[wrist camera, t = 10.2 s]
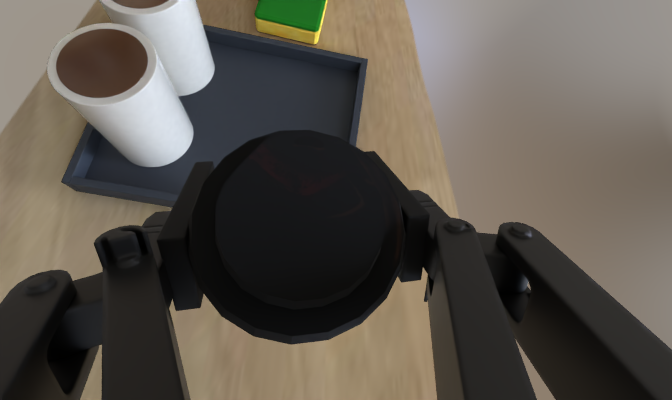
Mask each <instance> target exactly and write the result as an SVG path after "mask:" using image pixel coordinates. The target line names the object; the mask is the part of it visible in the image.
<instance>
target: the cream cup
mask: <svg viewBox="0 0 672 400" xmlns="http://www.w3.org/2000/svg"><path fill="white" fill-rule="evenodd" d="M47 74H48V78H49V81H50V83H51V85H52V86H53V87H54V89H55V90H56V91H57V92H58V93H59V94H60V95H61V96H62V97H63V98H64V99H65V100H66V101H67V102H68V103H69V104H70V105H71V106H72V107H73V108H74V109H75V110H76V111H77V112H78V113H79V114H80V115H81V116H83V117H84V118H85V119H86V120H87V121H88V122H89V123H90V124H91V125H92V126H93V127H94V128H95V129H96V130H97V131H98V132H99V133H100V134H101V135H102V136H103V137H104V138H105V139H106V140H107V141H108V142H109V143H110V144H111V145H112V146H113V147H114V148H115V149H116V150H117V151H118V152H119V153H120V154H121V155H123V156H124V157H125V158H126V159H127V160H128V161H130V162H132V163H133V164H136V165H139V166H143V167H160V166H164V165H167V164H170V163H172V162H174V161H176V160H177V159H179V158H180V157H181V156H182V155H183V154H184V153H185V152H186V151H187V150H188V148H189V146H190V145H191V142H192V139H193V125H192V122H191V120H190V118H189V116H188V114H187V112H186V110H185V108H184V106H183V104H182V102H181V100H180V98H179V96H178V94H177V92H176V90H175V88H174V86H173V84H172V82H171V80H170V78H169V76H168V74H167V72H166V70H165V68H164V66H163V64H162V62H161V60H160V58H159V56H158V54H157V52H156V50H155V48H154V46H153V44H152V43H151V41H150V40H149V39H148V38H147V37H146V36H145V35H144V34H142V33H141V32H139V31H137V30H136V29H134V28H131V27H129V26H125V25H122V24H115V23H99V24H92V25H88V26H85V27H82V28H79V29H77V30H75V31H73V32H71V33H69V34H68V35H66V36H65V37H64V38H62V39H61V40H60V41H59V42H58V43H57V44H56V46H55V47H54V48H53V50H52V51H51V53H50V56H49V58H48V62H47Z"/></svg>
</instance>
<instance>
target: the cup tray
mask: <svg viewBox="0 0 672 400" xmlns="http://www.w3.org/2000/svg"><path fill="white" fill-rule="evenodd" d="M203 26H204V29H205V33H206V36H207V39H208V43H209V46H210V50H211V53H212V56H213V60H214V64H215V70H214V74H213V77H212V79H211V80H210V82H209V83H208V84H207V85H206V86H205V87H204V88H202V89H201V90H199V91H198V92H195V93H193V94H189V95H185V96H179V98H180V100H181V102H182V104H183V106H184V108H185V110H186V112H187V114H188V116H189V118H190V120H191V122H192V125H193V139H192V142H191V145H190V146H189V148H188V150H187V151H186V152H185V153H184V154H183V155H182V156H181V157H180V158H179V159H177V160H176V161H174V162H172V163H170V164H167V165H164V166H160V167H143V166H139V165H136V164H133V163H132V162H130V161H128V160H127V159H126V158H125V157H124V156H123V155H121V154H120V153H119V152H118V151H117V150H116V149H115V148H114V147H113V146H112V145H111V144H110V143H109V142H108V141H107V140H106V139H105V138H104V137H103V136H102V135H101V134H100V133H99V132H98V131H97V130H96V129H95V128H94V127H93V126H92V125H91V124H90V123H89V122H88V123H87V125H86V127H85V130H84V132H83V134H82V136H81V139H80V141H79V143H78V145H77V148H76V150H75V152H74V154H73V156H72V159H71V161H70V163H69V165H68V168H67V170H66V172H65V174H64V177H63V179H62V181H61V182H62V183H64V184H66V185H67V186H69V187H71V188H72V189H74V190H75V191H80V192H86V193H91V194H97V195H103V196H109V197H115V198H121V199H126V200H132V201H138V202H144V203H150V204H156V205H161V206H167V207H173V206H174V204H175V202H176V200H177V198H178V196H179V194H180V192H181V190H182V188H183V186H184V184H185V182H186V180H187V178H188V176H189V174H190V172H191V170H192V168H193V166H194V164H195V162H204V161H213V164H214V169H215V168H216V166H217V165H218V164H219V163H220V161H221V160H222V159H223V158H224V157H225V156H227V155H228V154H230V153H231V152H233V151H234V150H236V149H237V148H238V147H240V146H241V145H243V144H244V143H246V142H247V141H249V140H251V139H254V138H257V137H261V136H264V135H267V134H270V133H273V132H276V131H283V130H312V131H316V132H320V133H324V134H328V135H332V136H336V137H339V138H341V139H343V140H345V141H346V142H348V143H350V144H351V145H353V146H355V147H356V141H357V133H358V126H359V119H360V112H361V105H362V98H363V90H364V83H365V76H366V69H367V62H368V59H364V58H359V57H354V56H350V55H345V54H340V53H335V52H331V51H326V50H321V49H317V48H312V47H307V46H302V45H298V44H293V43H288V42H283V41H279V40H274V39H269V38H264V37H260V36H255V35H250V34H245V33H241V32H236V31H231V30H226V29H222V28H217V27H212V26H208V25H203Z"/></svg>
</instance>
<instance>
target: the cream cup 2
mask: <svg viewBox="0 0 672 400" xmlns="http://www.w3.org/2000/svg"><path fill="white" fill-rule="evenodd" d="M99 1H100V3H101V5H102V6H103V8H104V10H105V11H106V13H107V15H108V16H109V18H110V20H111V21H112V23H115V24H122V25H125V26H129V27H131V28H134V29H136V30H137V31H139V32H141V33H142V34H144V35H145V36H146V37H147V38H148V39H149V40H150V41H151V43H152V44H153V46H154V48H155V50H156V52H157V54H158V56H159V58H160V60H161V62H162V64H163V66H164V68H165V70H166V72H167V74H168V76H169V78H170V80H171V82H172V84H173V86H174V88H175V90H176V92H177V94H178V96H185V95H189V94H193V93H195V92H198V91H199V90H201V89H202V88H204V87H205V86H206V85H207V84H208V83H209V82H210V80H211V79H212V77H213V74H214V70H215V64H214V60H213V56H212V53H211V50H210V46H209V43H208V39H207V36H206V33H205V29H204V26H203V22H202V19H201V15H200V12H199V9H198V5H197V2H196V0H99Z"/></svg>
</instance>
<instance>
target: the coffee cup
mask: <svg viewBox="0 0 672 400" xmlns="http://www.w3.org/2000/svg"><path fill="white" fill-rule="evenodd" d="M405 239H406V234H405V228H404V222H403V216H402V210H401V205H400V202H399V200H398V198H397V196H396V194H395V192H394V190H393V188H392V186H391V184H390V182H389V180H388V178H387V176H386V174H385V173H384V172H383V171H382V170H381V169H380V168H379V167H378V166H377V165H376V163H375V162H374V161H373V160H372V159H371V158H370V157H369V156H368V155H367V154H366V153H365V152H363V151H362V150H360V149H358V148H357V147H355V146H353V145H351V144H350V143H348V142H346V141H345V140H343V139H341V138H339V137H336V136H332V135H328V134H324V133H320V132H316V131H312V130H283V131H276V132H273V133H270V134H267V135H264V136H261V137H257V138H254V139H251V140H249V141H247V142H246V143H244V144H243V145H241V146H240V147H238V148H237V149H236V150H234V151H233V152H231V153H230V154H228V155H227V156H225V157H224V158H223V159H222V160H221V161H220V163H219V164H218V165H217V166H216V168H215V169H214V170H213V171H212V173H211V174H210V175H209V176H208V178H207V179H206V180H205V181H204V183H203V184H202V185H201V187H200V190H199V192H198V195H197V198H196V200H195V203H194V206H193V208H192V211H191V214H190V216H189V238H188V254H189V258H190V261H191V264H192V267H193V270H194V274H195V277H196V280H197V283H198V286H199V288H200V289H201V290H202V292H203V293H204V294H205V296H206V297H207V298H208V299H209V301H210V302H211V303H212V304H213V306H214V307H215V308H216V310H217V311H218V312H219V313H220V315H221V316H222V317H224V318H225V319H227V320H229V321H230V322H232V323H233V324H235V325H236V326H238V327H240V328H241V329H243V330H244V331H246V332H248V333H249V334H251V335H252V336H255V337H259V338H264V339H268V340H273V341H277V342H282V343H287V344H298V343H307V342H315V341H323V340H329V339H331V338H333V337H335V336H337V335H339V334H341V333H343V332H345V331H347V330H349V329H351V328H353V327H355V326H358V325H360V324H361V323H362V322H363V321H364V320H365V319H366V318H367V317H368V316H369V315H370V314H371V313H372V312H373V311H374V310H375V309H376V308H377V307H378V306H379V305H380V304H381V303H382V302H383V301H384V300H385V299H386V298H387V296H388V294H389V292H390V290H391V288H392V286H393V284H394V282H395V280H396V278H397V276H398V274H399V272H400V270H401V267H402V260H403V253H404V246H405Z"/></svg>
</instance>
